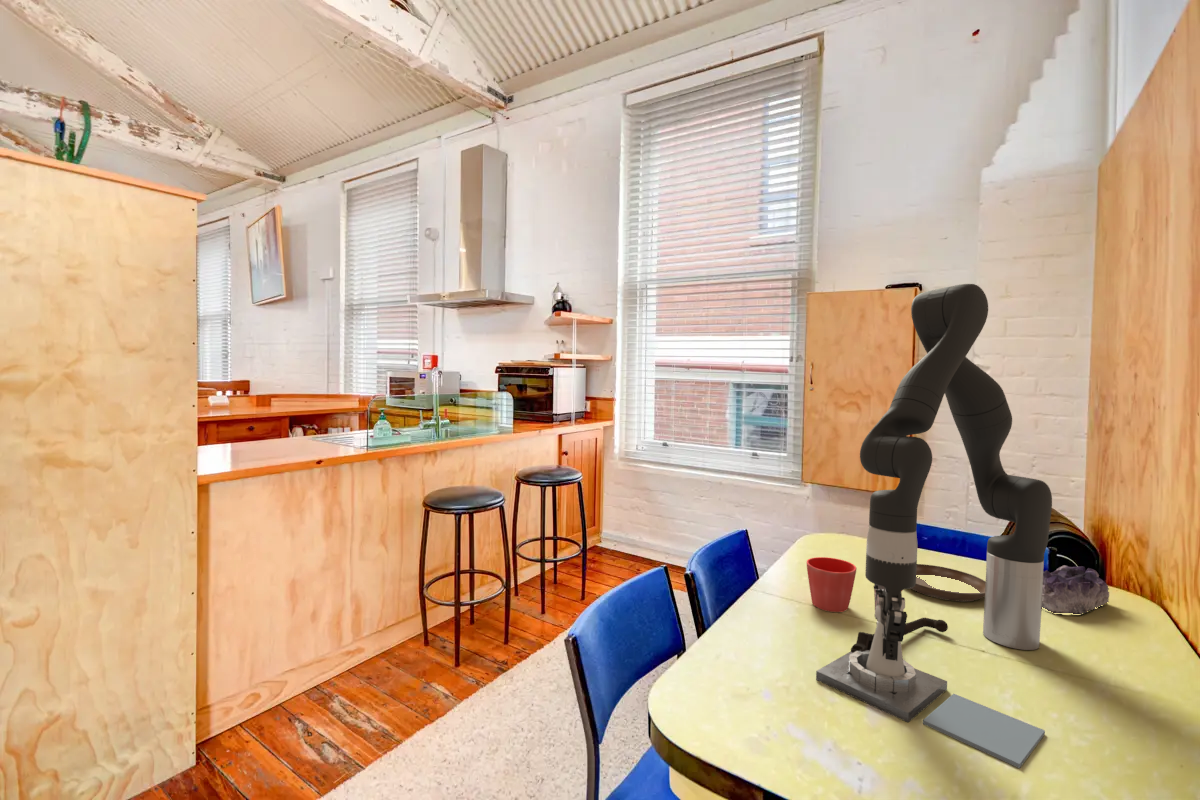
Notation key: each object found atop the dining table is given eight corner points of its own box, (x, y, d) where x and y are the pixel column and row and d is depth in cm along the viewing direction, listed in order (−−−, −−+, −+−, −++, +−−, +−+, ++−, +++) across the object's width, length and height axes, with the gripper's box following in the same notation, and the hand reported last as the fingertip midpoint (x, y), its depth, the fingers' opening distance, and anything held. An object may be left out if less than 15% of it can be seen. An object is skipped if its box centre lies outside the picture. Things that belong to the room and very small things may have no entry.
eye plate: (858, 654, 105) (859, 636, 105) (946, 689, 93) (947, 669, 93) (816, 679, 96) (816, 659, 96) (908, 722, 84) (909, 699, 84)
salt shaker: (912, 689, 92) (917, 612, 91) (886, 694, 90) (892, 616, 89) (882, 671, 98) (887, 598, 97) (857, 676, 95) (862, 601, 95)
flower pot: (804, 610, 125) (805, 567, 125) (805, 593, 135) (807, 554, 135) (856, 619, 121) (857, 575, 121) (853, 601, 131) (855, 560, 131)
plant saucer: (988, 586, 144) (989, 573, 144) (993, 613, 127) (993, 599, 126) (898, 570, 155) (898, 558, 155) (891, 593, 138) (891, 579, 138)
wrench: (950, 640, 114) (875, 674, 96) (923, 633, 118) (847, 664, 100) (949, 614, 114) (875, 643, 97) (923, 608, 118) (847, 634, 101)
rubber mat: (953, 697, 91) (953, 693, 91) (1044, 734, 82) (1044, 730, 82) (922, 723, 84) (923, 719, 84) (1019, 768, 74) (1019, 763, 74)
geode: (1090, 626, 121) (1084, 579, 121) (1027, 614, 130) (1021, 570, 131) (1120, 603, 132) (1114, 561, 133) (1059, 594, 142) (1054, 554, 142)
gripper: (928, 570, 85) (923, 681, 86) (906, 544, 99) (902, 640, 99) (874, 564, 87) (870, 672, 88) (859, 540, 101) (856, 634, 101)
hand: (887, 655), depth 94 cm, fingers closed on salt shaker, 3 cm apart
